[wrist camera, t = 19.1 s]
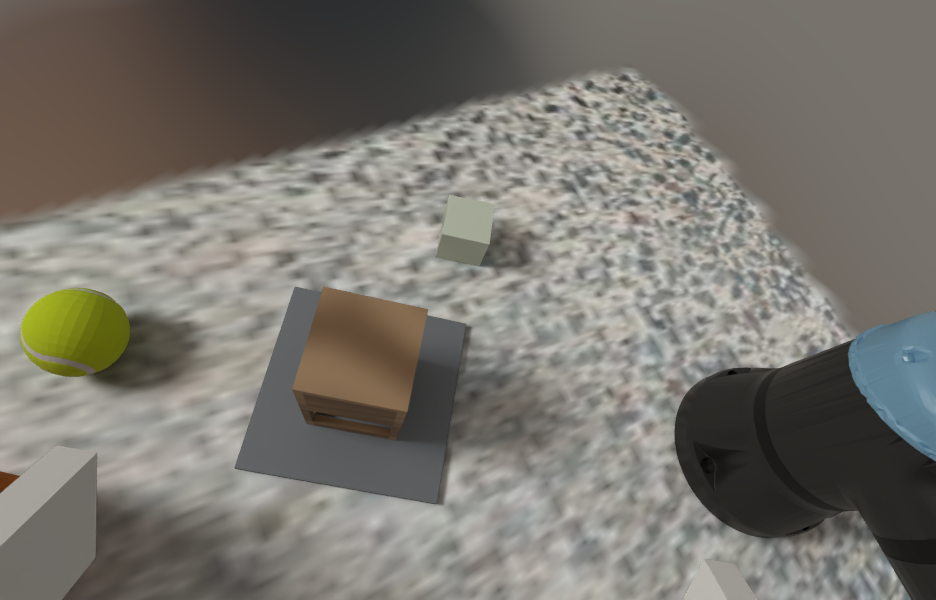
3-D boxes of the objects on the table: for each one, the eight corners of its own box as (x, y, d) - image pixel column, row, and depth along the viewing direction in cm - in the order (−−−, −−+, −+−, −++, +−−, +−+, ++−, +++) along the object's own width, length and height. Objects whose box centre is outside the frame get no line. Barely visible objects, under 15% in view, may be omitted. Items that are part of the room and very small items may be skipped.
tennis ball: (34, 380, 41) (-22, 353, 35) (69, 302, 44) (24, 265, 38) (125, 392, 42) (87, 367, 36) (154, 315, 45) (123, 281, 39)
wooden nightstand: (395, 440, 44) (407, 411, 34) (306, 423, 43) (291, 389, 33) (412, 357, 47) (428, 309, 37) (330, 340, 46) (323, 286, 36)
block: (479, 266, 53) (489, 244, 49) (435, 257, 52) (442, 234, 48) (484, 229, 55) (494, 205, 51) (442, 220, 54) (449, 194, 50)
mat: (435, 504, 43) (436, 503, 42) (235, 468, 41) (234, 467, 40) (465, 325, 50) (466, 323, 49) (295, 289, 48) (294, 286, 47)
